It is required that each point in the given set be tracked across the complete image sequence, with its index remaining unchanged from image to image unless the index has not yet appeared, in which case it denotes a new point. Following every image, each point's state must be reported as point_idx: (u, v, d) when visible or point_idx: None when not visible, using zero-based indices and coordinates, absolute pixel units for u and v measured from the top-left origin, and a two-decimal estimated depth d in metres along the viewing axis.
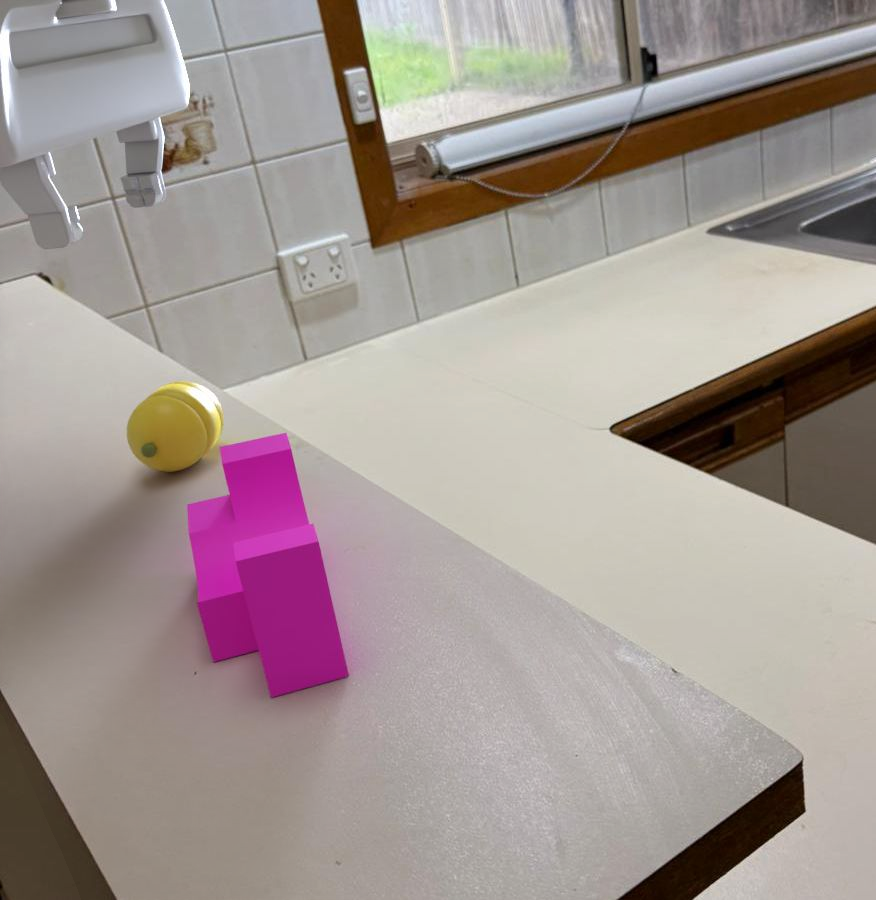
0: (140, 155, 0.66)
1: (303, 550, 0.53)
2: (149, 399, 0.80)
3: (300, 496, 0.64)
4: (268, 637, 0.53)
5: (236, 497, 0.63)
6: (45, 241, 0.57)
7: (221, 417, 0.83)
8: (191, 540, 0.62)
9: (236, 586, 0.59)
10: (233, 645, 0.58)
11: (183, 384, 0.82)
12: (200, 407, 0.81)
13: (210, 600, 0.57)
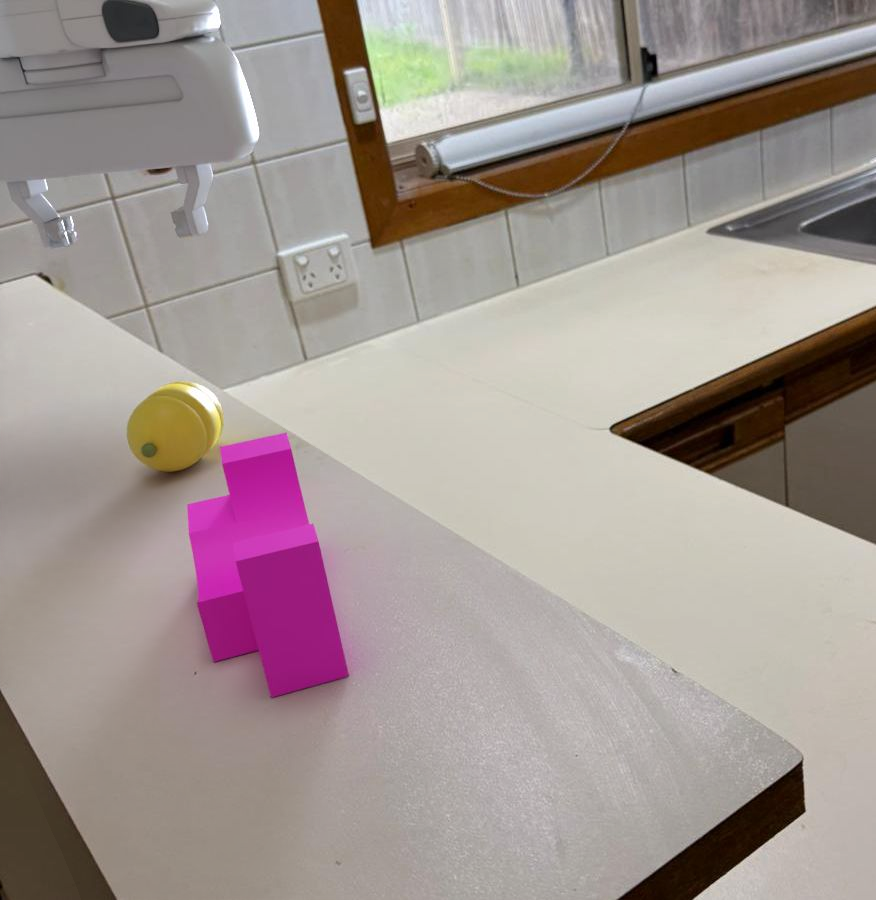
0: (41, 206, 0.75)
1: (303, 550, 0.53)
2: (149, 399, 0.80)
3: (300, 496, 0.64)
4: (268, 637, 0.53)
5: (237, 497, 0.63)
6: (200, 229, 0.74)
7: (221, 417, 0.83)
8: (191, 540, 0.62)
9: (236, 586, 0.59)
10: (233, 645, 0.58)
11: (183, 384, 0.82)
12: (200, 407, 0.81)
13: (210, 600, 0.57)
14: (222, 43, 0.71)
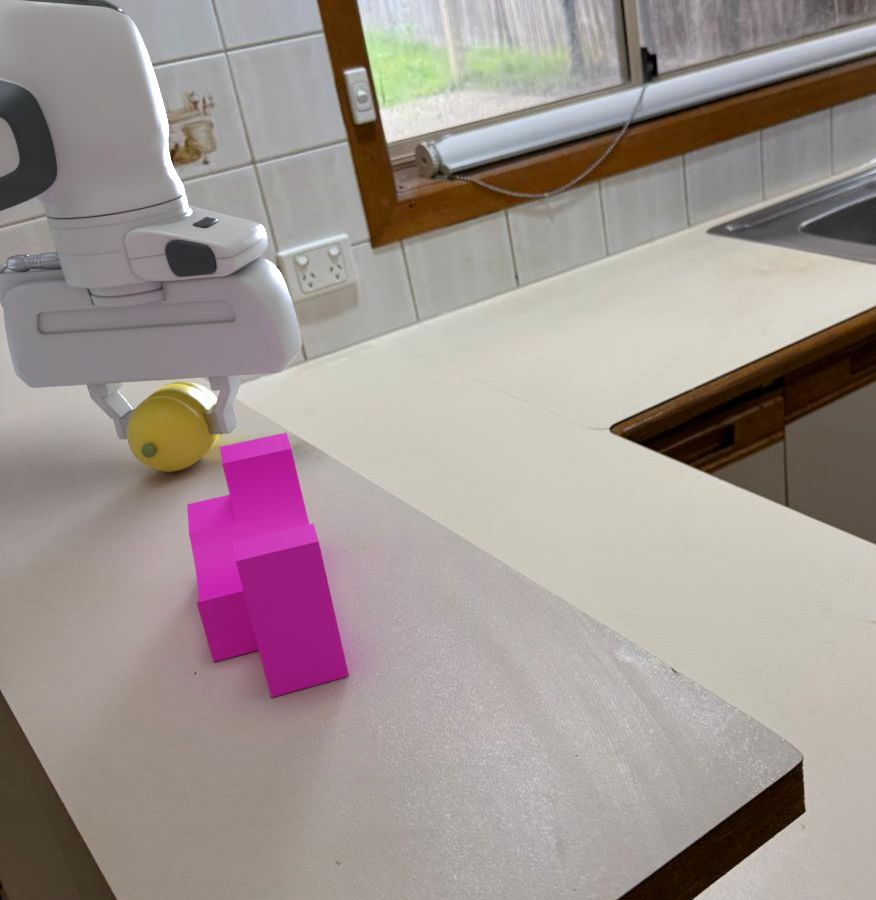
0: (116, 402, 0.82)
1: (303, 550, 0.53)
2: (149, 399, 0.80)
3: (300, 496, 0.64)
4: (268, 637, 0.53)
5: (237, 497, 0.63)
6: (229, 427, 0.81)
7: None
8: (191, 540, 0.62)
9: (236, 586, 0.59)
10: (234, 645, 0.58)
11: (183, 384, 0.82)
12: (200, 407, 0.81)
13: (210, 600, 0.57)
14: (270, 264, 0.78)
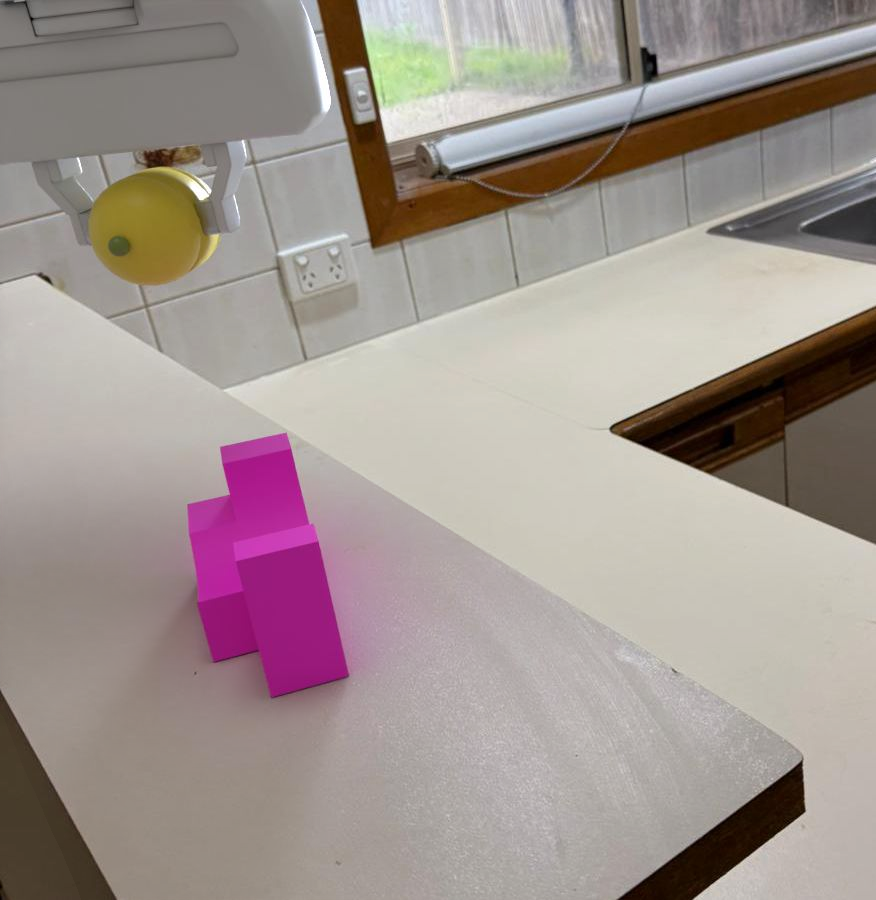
0: (74, 193, 0.59)
1: (303, 550, 0.53)
2: (119, 181, 0.57)
3: (300, 496, 0.64)
4: (268, 637, 0.53)
5: (237, 497, 0.63)
6: (231, 225, 0.59)
7: None
8: (191, 540, 0.62)
9: (236, 586, 0.59)
10: (234, 645, 0.58)
11: (166, 168, 0.60)
12: (190, 195, 0.59)
13: (210, 600, 0.57)
14: None
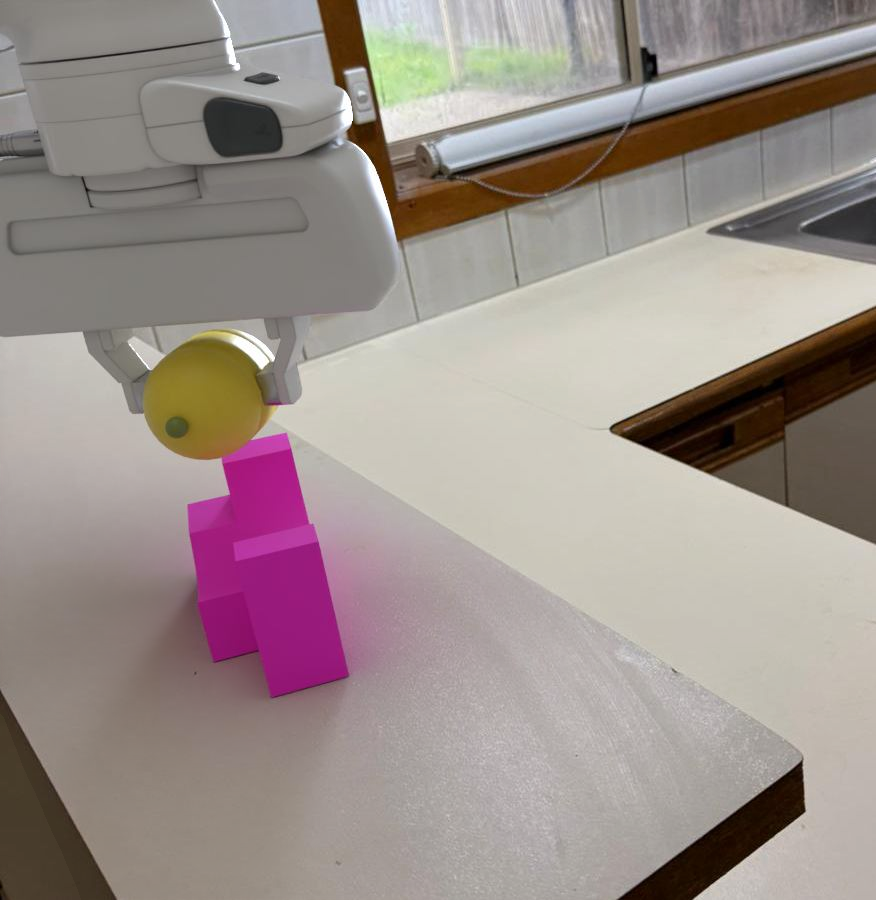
0: (126, 359, 0.56)
1: (303, 550, 0.53)
2: (176, 352, 0.54)
3: (300, 496, 0.64)
4: (268, 637, 0.53)
5: (237, 497, 0.63)
6: (293, 395, 0.55)
7: None
8: (191, 540, 0.62)
9: (236, 586, 0.59)
10: (234, 645, 0.58)
11: (225, 332, 0.56)
12: (251, 365, 0.55)
13: (210, 600, 0.57)
14: (357, 149, 0.52)
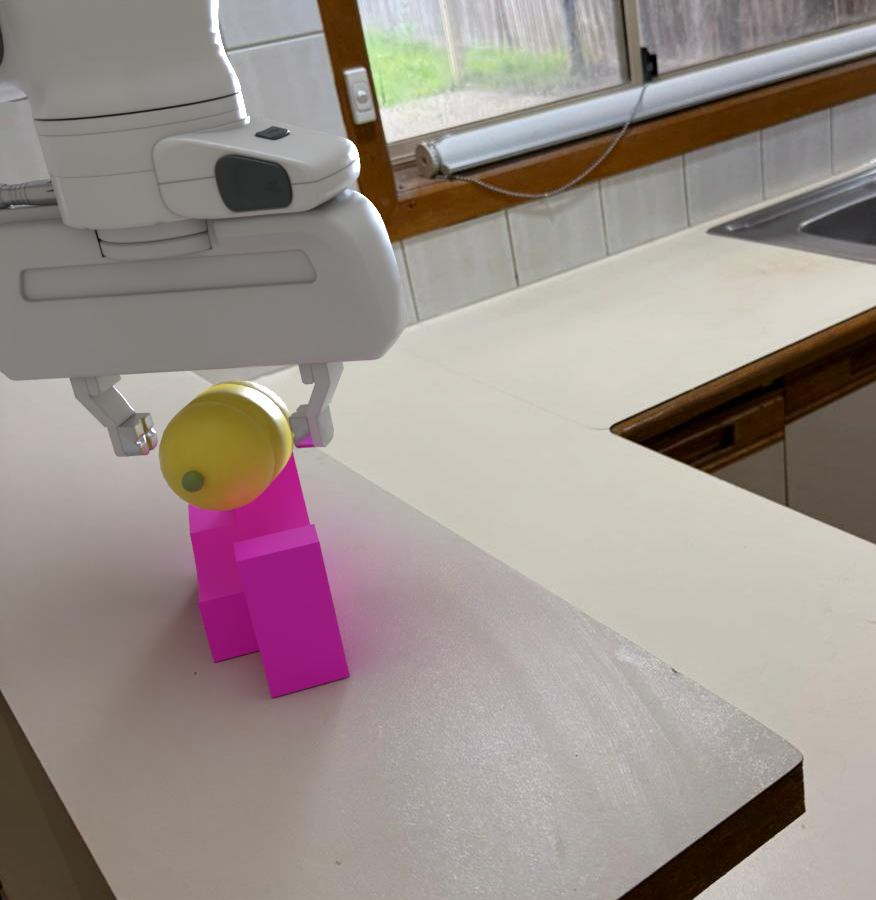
0: (112, 403, 0.57)
1: (304, 550, 0.53)
2: (193, 406, 0.55)
3: (301, 496, 0.63)
4: (269, 637, 0.53)
5: None
6: (325, 438, 0.56)
7: (292, 433, 0.58)
8: (192, 540, 0.62)
9: (237, 586, 0.59)
10: (234, 645, 0.58)
11: (240, 385, 0.57)
12: (266, 419, 0.56)
13: (211, 600, 0.57)
14: (364, 200, 0.53)
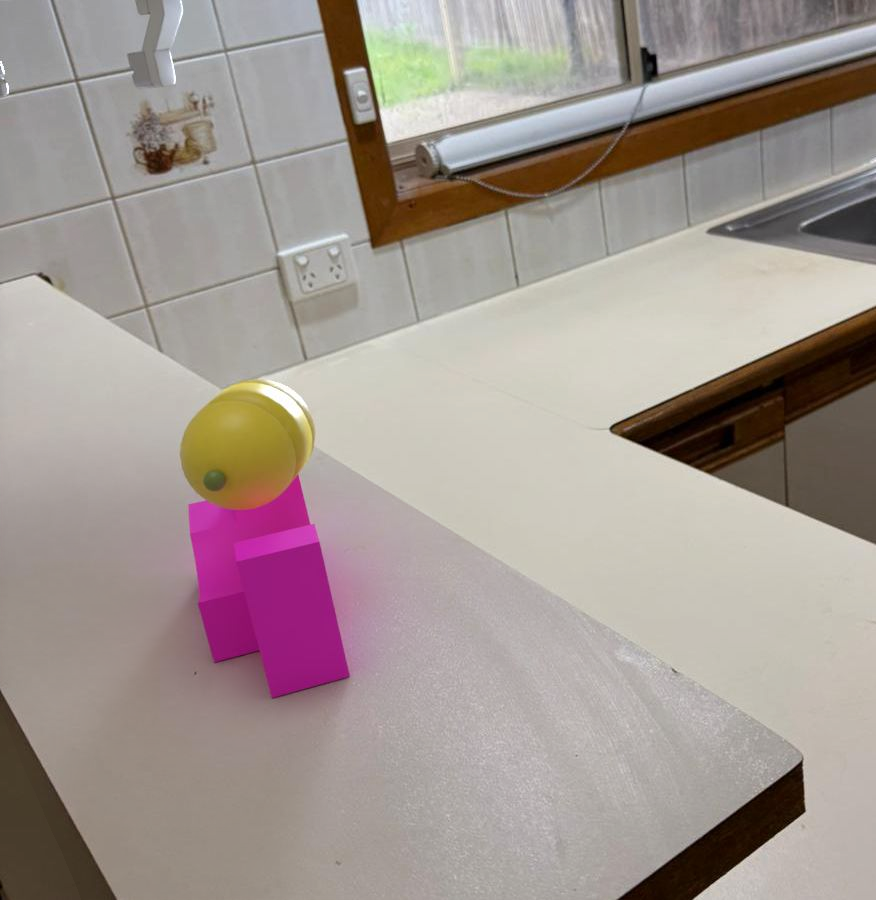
0: None
1: (304, 550, 0.53)
2: (235, 404, 0.55)
3: (301, 496, 0.63)
4: (269, 637, 0.53)
5: None
6: (164, 79, 0.58)
7: (312, 450, 0.59)
8: (192, 540, 0.62)
9: (237, 586, 0.59)
10: (234, 645, 0.58)
11: (281, 392, 0.57)
12: (298, 436, 0.56)
13: (211, 600, 0.57)
14: None
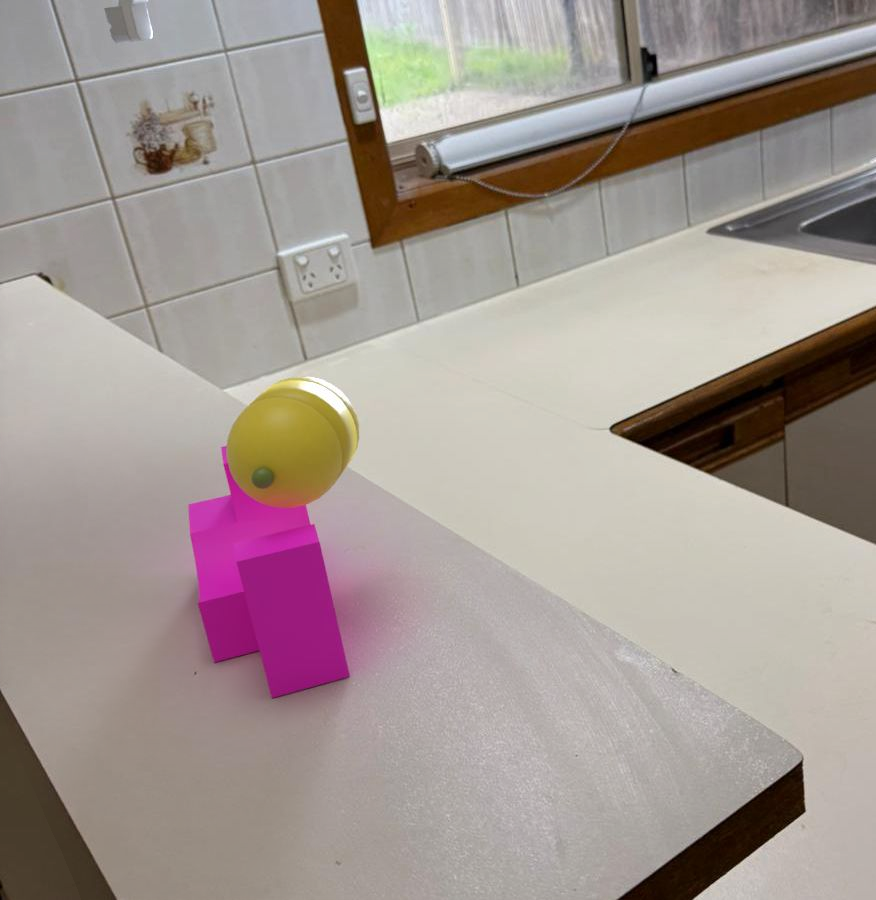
0: None
1: (304, 550, 0.53)
2: (325, 424, 0.55)
3: None
4: (269, 637, 0.53)
5: (238, 497, 0.63)
6: (141, 32, 0.60)
7: None
8: (192, 540, 0.62)
9: (237, 586, 0.59)
10: (234, 645, 0.58)
11: (355, 425, 0.57)
12: None
13: (211, 600, 0.57)
14: None
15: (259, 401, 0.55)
